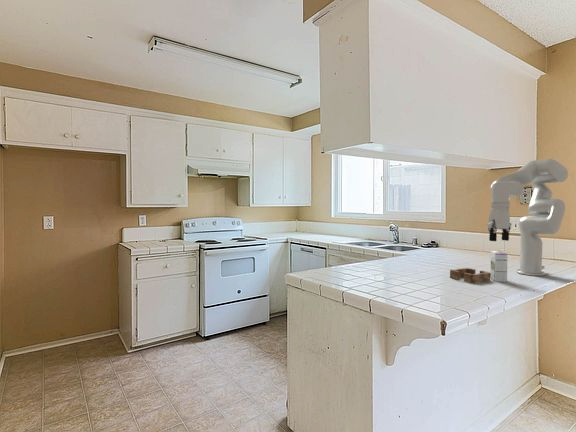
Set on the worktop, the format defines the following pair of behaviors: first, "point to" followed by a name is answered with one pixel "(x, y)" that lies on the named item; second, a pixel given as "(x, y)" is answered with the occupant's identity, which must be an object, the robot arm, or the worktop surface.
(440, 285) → the worktop surface
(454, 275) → the brown joined bars
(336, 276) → the worktop surface
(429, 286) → the worktop surface
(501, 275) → the syrup box
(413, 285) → the worktop surface
